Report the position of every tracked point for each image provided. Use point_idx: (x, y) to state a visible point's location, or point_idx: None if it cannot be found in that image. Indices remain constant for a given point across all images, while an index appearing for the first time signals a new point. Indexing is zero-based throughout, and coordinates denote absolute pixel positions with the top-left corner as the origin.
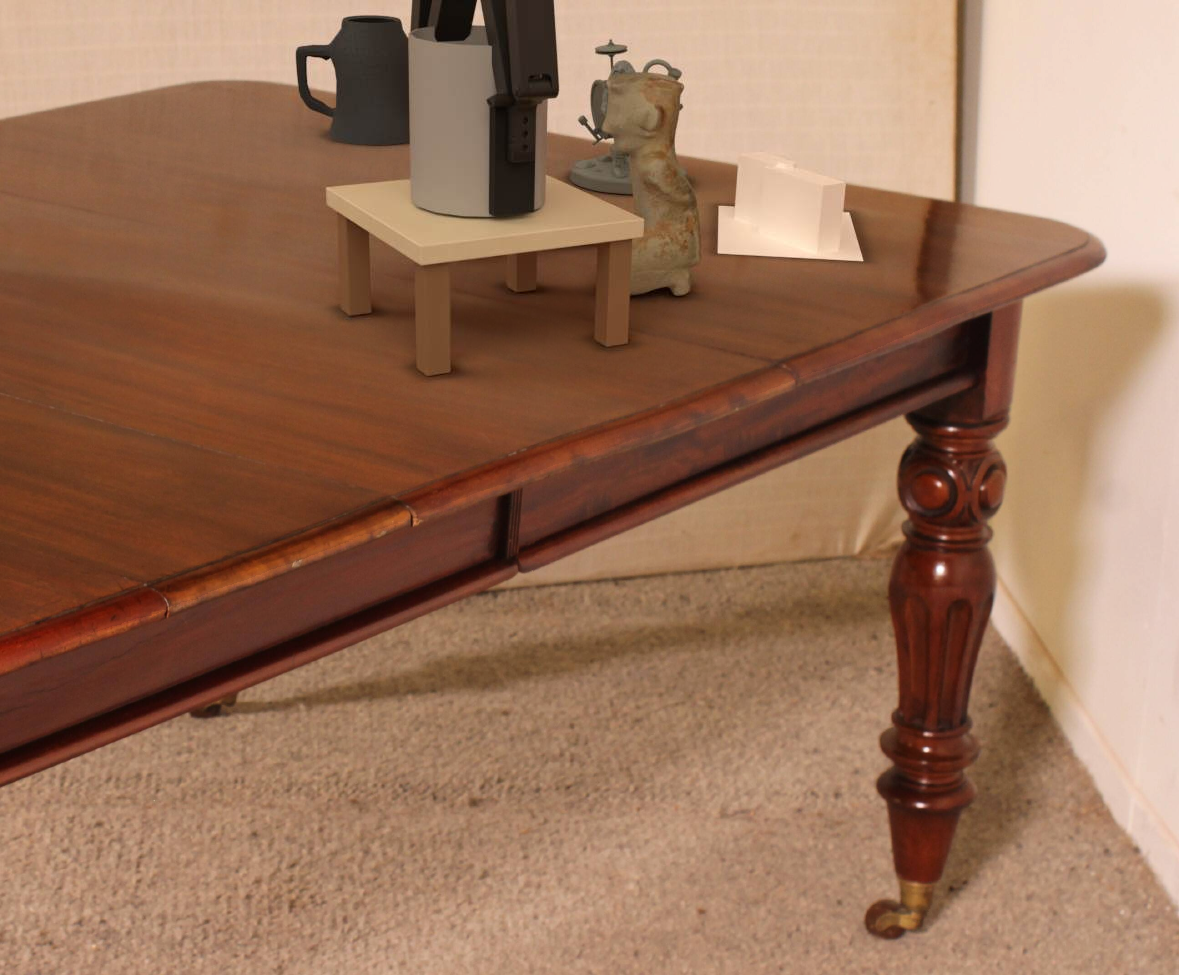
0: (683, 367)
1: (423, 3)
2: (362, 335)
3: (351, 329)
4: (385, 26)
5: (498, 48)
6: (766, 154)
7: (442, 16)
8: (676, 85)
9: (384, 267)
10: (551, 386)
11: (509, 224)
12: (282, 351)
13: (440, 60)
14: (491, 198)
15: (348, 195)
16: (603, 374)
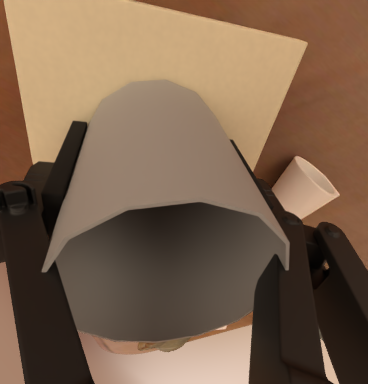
0: (15, 165)
1: (350, 301)
2: (184, 5)
3: (202, 6)
4: None
5: (7, 271)
6: (219, 328)
7: (275, 292)
8: (138, 346)
9: (296, 119)
10: (2, 69)
11: (64, 127)
12: None
13: (113, 188)
14: (78, 129)
15: (262, 44)
16: (17, 117)
